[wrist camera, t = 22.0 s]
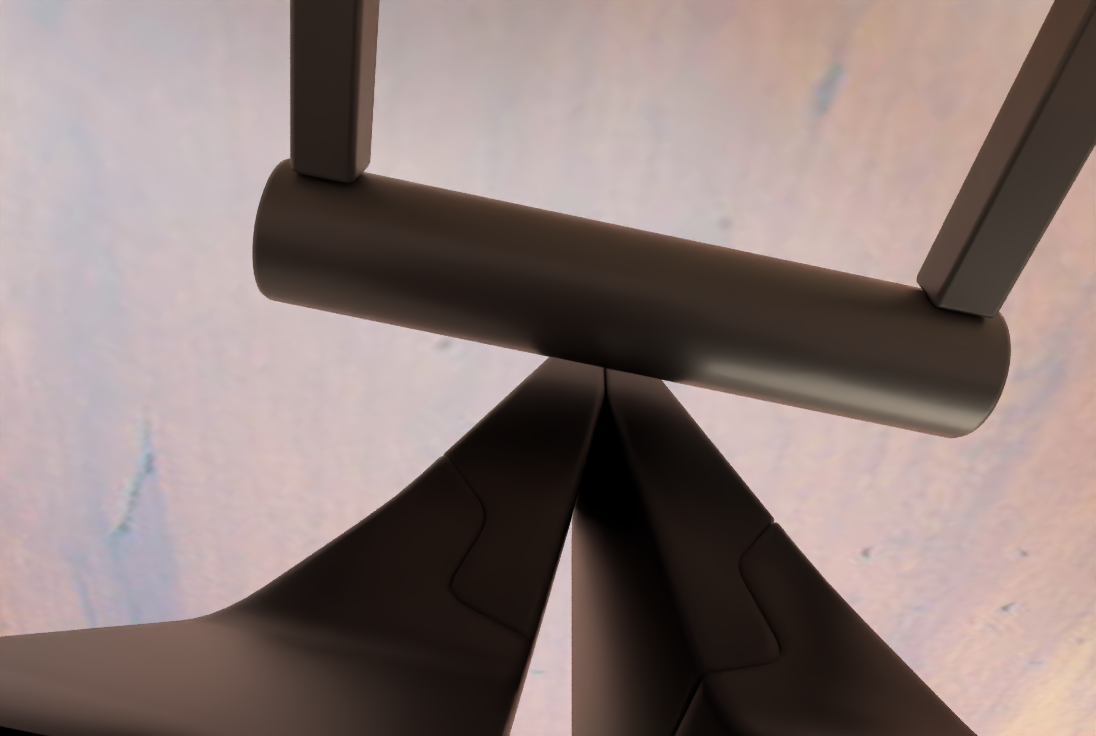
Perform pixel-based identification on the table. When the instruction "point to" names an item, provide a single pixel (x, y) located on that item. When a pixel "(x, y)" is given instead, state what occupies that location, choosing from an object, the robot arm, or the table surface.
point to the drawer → (672, 254)
